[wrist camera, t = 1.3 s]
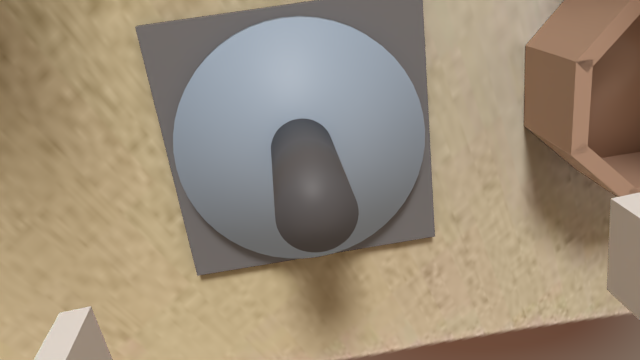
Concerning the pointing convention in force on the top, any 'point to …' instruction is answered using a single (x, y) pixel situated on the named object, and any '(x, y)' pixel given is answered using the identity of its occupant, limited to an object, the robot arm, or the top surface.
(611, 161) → the bowl
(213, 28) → the mat
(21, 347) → the top surface
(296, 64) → the lid
